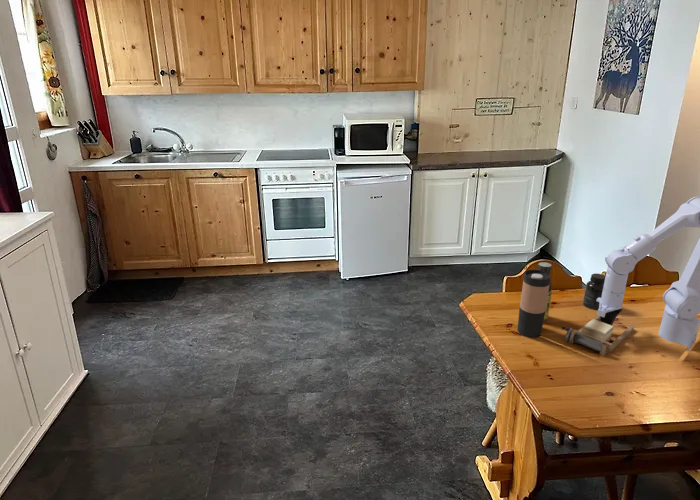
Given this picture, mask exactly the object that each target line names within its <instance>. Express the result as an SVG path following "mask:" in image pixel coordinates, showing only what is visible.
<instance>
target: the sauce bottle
mask: <svg viewBox="0 0 700 500" xmlns="http://www.w3.org/2000/svg"><path fill="white" fill-rule="evenodd" d="M552 267H553V266H552V264H551V263H550V262H542V261H541V262H538V264H537V270H541V271H544V272H545V273H546V274H547V275H550V276H551V271H552ZM552 293H553V286H552V281H551V280H550V285H549V291H548V298H547V305H546V311H545V317H544V322H543V323H546V322H547V321H548V318H549V314H550V307H551V300H552Z"/></svg>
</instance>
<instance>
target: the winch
mask: <svg viewBox="0 0 700 500" xmlns="http://www.w3.org/2000/svg"><path fill="white" fill-rule="evenodd" d="M561 329H562V330H563V331H566V335H565V341H567V342H568V343H569V344H571V345H573V344H574V343H577V344H580V345H582V346H584V347H587V348H590V349H592V350H595V351H597V352H599V356H602V357H605V356H606V355H607V348H608V344H607V343H605V342H604V343H603V342H600V341H598V340H595V339H592V338H590V337H587V336H585V335H582V334H579V333H577V332H576V331H574V330H575V329H574V328H572V327H567V326H565V325H563V326H562V328H561Z"/></svg>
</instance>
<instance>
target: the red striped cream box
mask: <svg viewBox="0 0 700 500" xmlns="http://www.w3.org/2000/svg"><path fill="white" fill-rule="evenodd" d="M590 320H591V321H590ZM590 320H589V321H590V322H589V321H588V322H589V323H588V322H586V323H585V324H586V325H585V324H584V325H585V326H584V325H583V326H584V331H583V333H585V334H588V335H590V336H593V337H595V338H598V339H601V340H603V341H606V342H609V343H610V341H611V339H612V334H613V329H614V325H613V324H612V325H609V324H606V323H603V322H601V320H595V319H593V318H591V319H590Z"/></svg>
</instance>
